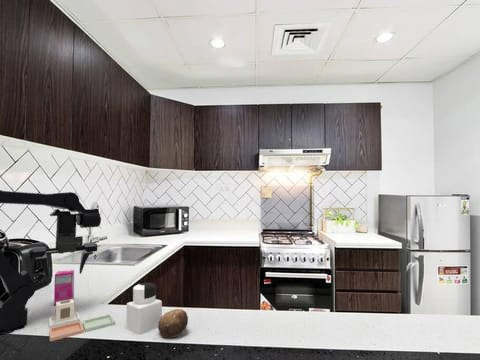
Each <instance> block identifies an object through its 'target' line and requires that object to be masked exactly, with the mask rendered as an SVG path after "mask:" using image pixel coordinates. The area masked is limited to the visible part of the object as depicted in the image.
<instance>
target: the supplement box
mask: <svg viewBox="0 0 480 360" xmlns="http://www.w3.org/2000/svg"><path fill="white" fill-rule="evenodd" d="M53 290H54V291H53V292H54V294H53V295H54V297H53V304H54V305H53V306H54V307H56V302H59V301H64V300H69V299H73V300H74V301H75V269H74V268H73V269H68V270H60V271H59V270H58V271H57V272H56V273H55V274H54V289H53Z"/></svg>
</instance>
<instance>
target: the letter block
mask: <svg viewBox="0 0 480 360" xmlns="http://www.w3.org/2000/svg"><path fill="white" fill-rule="evenodd" d="M74 312H75V299H74V300H73V299H69V300H64V301H59V302H56V306H55V316H56V318H55V322H56V323H61V322H65V321H69V320H74Z"/></svg>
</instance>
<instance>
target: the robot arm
mask: <svg viewBox="0 0 480 360" xmlns="http://www.w3.org/2000/svg"><path fill="white" fill-rule="evenodd" d="M0 204H6V205H7V204H8V205H31V206H32V205H33V206H46V207H49V208H52V209H53V208H54V209H55V210H53V212H51V213H50V214H49V216H50V217H56V231H55V247H50V248H47V246H35V247H33V248H31V249H30V255H29V258H30V259H34V260H35V261H39V262H40V264H41V266H42V268H43V270H44V274H45V276H46V279H49V276H50V275H49V264H48V255H53V254H64V253H75V252H81V258H80V264H79V274H80V275H81V274H82V272H83V269H84V267H85V265H86V262H87V260H88V258H89V257H90V256H91V255H93V254H94V253H96V252H98V244H97V243H96V242H84V240H83V239H84V238H83V236H82V235H80V236H77V226H79V227H80V228H81V229H86V228H99V227H100V225H101V222H102V217H101V214H100V212H99V211H100V210H99V208H90V209H86V208H85V207H84V206H83V204H82V202H81V201H80V198H79V196H78V195H77V193H75V192H73V191H72V192H71V191H69V192H57V193H40V192H39V193H38V192H37V193H36V192H23V191H12V190H11V191H9V190H8V191H6V190H1V189H0ZM0 279H1V281H2V284H3V287H4V289H5V292H4V293H3V294H2V295H1V296H0V335H4V334H8V333H12V332H15V331H17V330H18V331H20V330H22V329H25V326H26V325H28V314H29V312H28V311H29V309H28V307H26V305H27V304H28V301H29V300H30V299H31V298H32V297H33V296H34V295H35V293H36V289H37V288H36V286H35V284H36V283H37V282H36V281H34V280H33V279H32V277H31V275H30V273H29V272H28V271H26V270H22V271H20V272H19V271H18V270H17V269H16V268H15V267H14V265H13V264H12V263H11V261H10V260H9V258H8V257H7V256H6V255H5V253H4V252H3V251H2V250H1V249H0Z"/></svg>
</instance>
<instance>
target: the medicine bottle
mask: <svg viewBox="0 0 480 360" xmlns="http://www.w3.org/2000/svg"><path fill="white" fill-rule="evenodd" d="M132 300H133V301H129V302H127V303H126V321H125V323H126V326H125V327H126V329H127V330H129V331H132V332H133V333H135V334H137V335H142V334H144V333H147V332H150V331H151V330H153V329H154V330H155V329H156V328H158V324H159V320H160V319H161V317H162V316H163V308H162V307H163V301H162V299H161V300H160V299H157V298H156V284H155V283H154V282H153V283H152V282H142V283H137V285H134V287H133V288H132Z"/></svg>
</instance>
